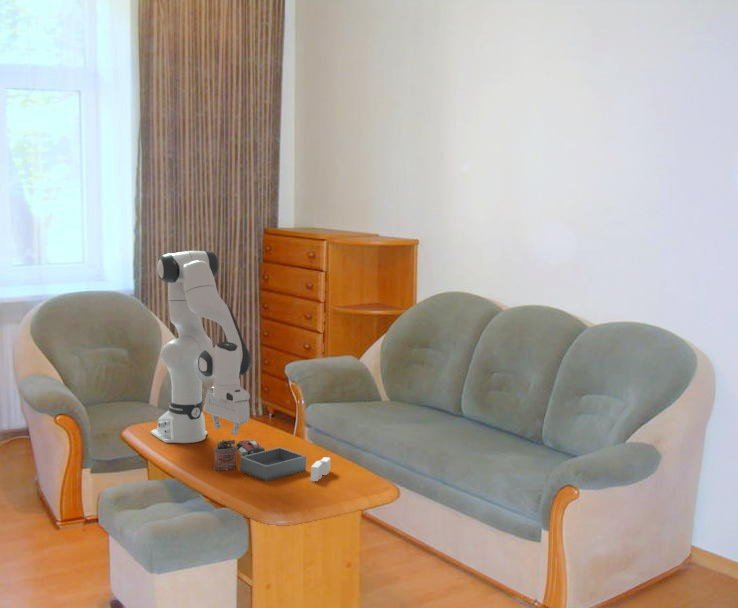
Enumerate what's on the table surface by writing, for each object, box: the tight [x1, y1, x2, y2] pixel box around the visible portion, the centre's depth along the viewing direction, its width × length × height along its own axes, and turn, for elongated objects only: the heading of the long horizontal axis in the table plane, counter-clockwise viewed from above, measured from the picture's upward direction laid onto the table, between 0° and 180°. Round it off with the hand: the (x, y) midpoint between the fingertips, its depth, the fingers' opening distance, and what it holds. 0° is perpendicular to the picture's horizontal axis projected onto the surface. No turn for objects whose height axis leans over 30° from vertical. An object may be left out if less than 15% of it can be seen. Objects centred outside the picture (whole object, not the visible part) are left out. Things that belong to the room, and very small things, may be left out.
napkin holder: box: [310, 456, 331, 482], centre depth 300 cm, size 15×11×6 cm
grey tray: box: [239, 446, 307, 482], centre depth 303 cm, size 14×18×5 cm
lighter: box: [213, 439, 238, 471], centre depth 303 cm, size 8×3×10 cm, turn 118°
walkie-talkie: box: [236, 439, 266, 457], centre depth 321 cm, size 9×4×20 cm
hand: (225, 431), depth 302 cm, fingers open, 8 cm apart
